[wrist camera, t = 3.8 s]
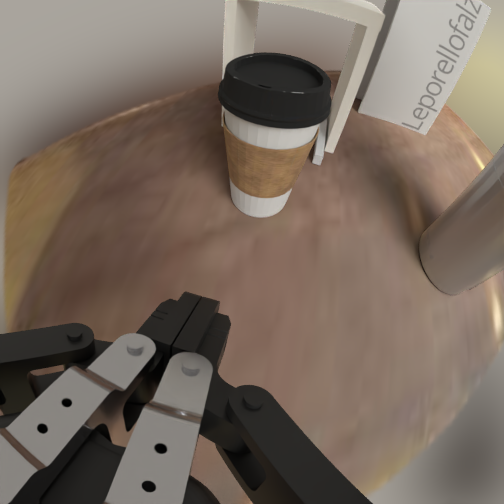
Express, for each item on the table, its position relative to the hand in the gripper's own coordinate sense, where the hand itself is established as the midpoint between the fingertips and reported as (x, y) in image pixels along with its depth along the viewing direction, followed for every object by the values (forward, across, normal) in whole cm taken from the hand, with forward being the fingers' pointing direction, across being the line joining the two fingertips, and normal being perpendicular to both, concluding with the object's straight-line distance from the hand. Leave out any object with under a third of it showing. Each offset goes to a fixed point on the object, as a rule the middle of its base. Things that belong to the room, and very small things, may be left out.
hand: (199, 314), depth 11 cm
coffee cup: (+20, 0, -3) cm, 20 cm away
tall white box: (+39, -18, -22) cm, 48 cm away
